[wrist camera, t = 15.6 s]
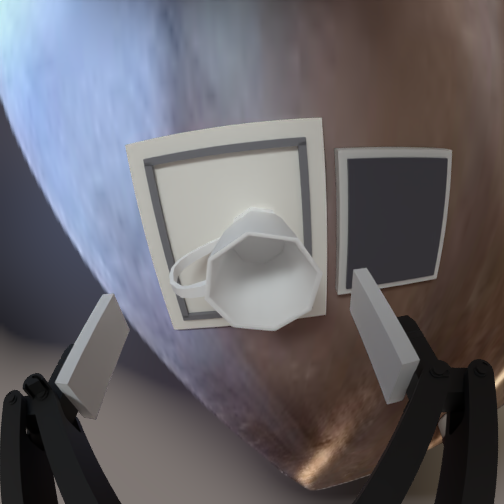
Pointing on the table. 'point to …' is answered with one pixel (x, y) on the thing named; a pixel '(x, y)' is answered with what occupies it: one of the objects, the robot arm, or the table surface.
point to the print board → (228, 198)
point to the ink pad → (390, 213)
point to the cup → (254, 273)
